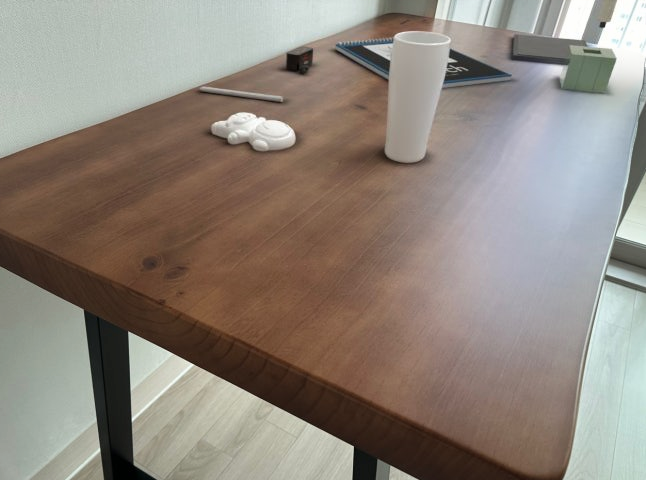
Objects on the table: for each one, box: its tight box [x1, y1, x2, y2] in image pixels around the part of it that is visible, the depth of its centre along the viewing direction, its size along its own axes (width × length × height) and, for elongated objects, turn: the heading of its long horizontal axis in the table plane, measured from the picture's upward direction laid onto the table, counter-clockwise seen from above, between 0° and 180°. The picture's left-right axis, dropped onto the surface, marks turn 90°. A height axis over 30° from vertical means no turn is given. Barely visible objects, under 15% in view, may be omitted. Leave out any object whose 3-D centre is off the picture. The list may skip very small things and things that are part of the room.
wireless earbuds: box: [285, 45, 314, 74], centre depth 108 cm, size 5×7×3 cm, turn 149°
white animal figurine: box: [210, 111, 296, 152], centre depth 80 cm, size 9×12×3 cm
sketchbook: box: [334, 36, 513, 89], centre depth 113 cm, size 22×30×2 cm
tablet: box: [511, 33, 589, 66], centre depth 122 cm, size 15×20×1 cm
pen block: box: [559, 45, 618, 94], centre depth 102 cm, size 7×7×6 cm
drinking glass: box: [384, 30, 452, 164], centre depth 72 cm, size 7×7×15 cm
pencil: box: [198, 86, 284, 103], centre depth 95 cm, size 1×1×15 cm
